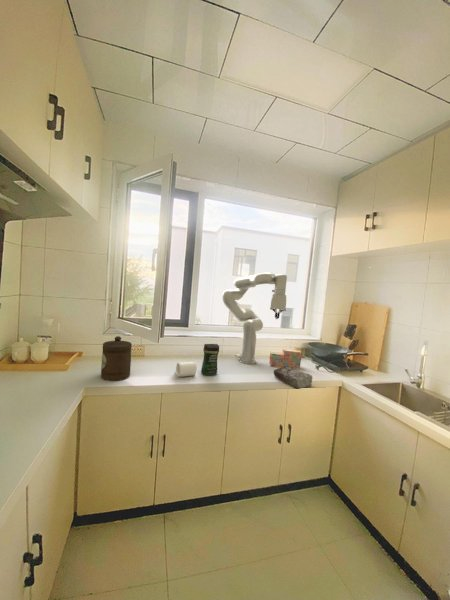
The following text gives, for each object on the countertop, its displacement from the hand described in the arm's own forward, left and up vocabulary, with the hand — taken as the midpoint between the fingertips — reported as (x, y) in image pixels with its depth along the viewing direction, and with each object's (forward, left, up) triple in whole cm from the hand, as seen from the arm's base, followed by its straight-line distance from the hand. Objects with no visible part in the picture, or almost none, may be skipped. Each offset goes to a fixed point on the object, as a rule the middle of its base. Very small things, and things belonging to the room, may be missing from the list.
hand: (276, 318), depth 176 cm
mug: (-50, -37, -35) cm, 72 cm away
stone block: (+6, -12, -32) cm, 35 cm away
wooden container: (-83, -56, -35) cm, 106 cm away
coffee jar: (-37, -29, -35) cm, 59 cm away
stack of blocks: (+9, +11, -36) cm, 38 cm away
